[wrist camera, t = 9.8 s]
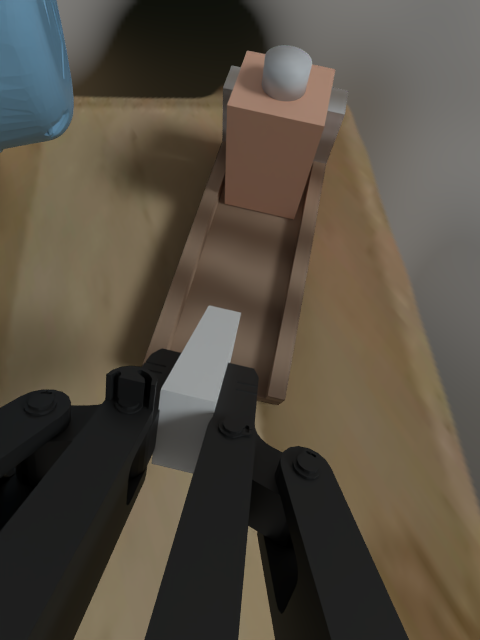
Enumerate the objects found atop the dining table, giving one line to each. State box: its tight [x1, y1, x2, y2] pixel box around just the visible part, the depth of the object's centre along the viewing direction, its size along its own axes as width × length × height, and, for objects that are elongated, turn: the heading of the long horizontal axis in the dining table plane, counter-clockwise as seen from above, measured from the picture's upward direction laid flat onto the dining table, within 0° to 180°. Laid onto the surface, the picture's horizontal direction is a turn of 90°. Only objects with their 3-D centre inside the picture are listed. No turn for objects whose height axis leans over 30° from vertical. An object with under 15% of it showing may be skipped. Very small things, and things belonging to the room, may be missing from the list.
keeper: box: [225, 45, 335, 220], centre depth 25 cm, size 6×6×11 cm
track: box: [143, 66, 348, 405], centre depth 26 cm, size 25×10×8 cm, turn 167°
